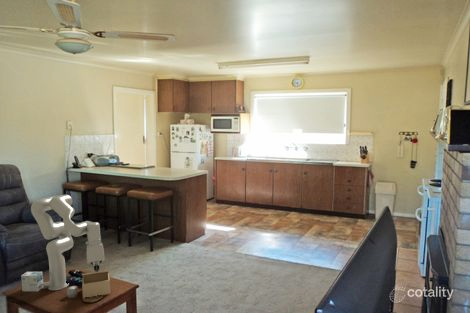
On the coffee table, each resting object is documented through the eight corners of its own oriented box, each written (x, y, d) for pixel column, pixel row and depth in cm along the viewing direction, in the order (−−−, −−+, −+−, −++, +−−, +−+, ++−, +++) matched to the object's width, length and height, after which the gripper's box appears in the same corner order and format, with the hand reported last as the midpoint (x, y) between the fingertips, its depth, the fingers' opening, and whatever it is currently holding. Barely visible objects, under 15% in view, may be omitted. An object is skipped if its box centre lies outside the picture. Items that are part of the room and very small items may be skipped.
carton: (82, 298, 222) (82, 284, 221) (83, 289, 235) (82, 275, 234) (110, 293, 228) (109, 280, 227) (109, 284, 241) (108, 271, 240)
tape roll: (67, 298, 222) (66, 290, 222) (67, 294, 228) (67, 286, 228) (77, 296, 225) (77, 289, 224) (78, 292, 230) (77, 285, 230)
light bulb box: (43, 287, 239) (42, 271, 238) (37, 291, 232) (36, 275, 231) (28, 286, 240) (27, 271, 239) (21, 291, 233) (20, 275, 232)
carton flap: (81, 275, 222) (81, 274, 222) (82, 275, 234) (82, 274, 234) (109, 271, 228) (109, 269, 228) (108, 271, 240) (108, 270, 240)
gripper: (81, 246, 219) (83, 275, 220) (107, 242, 224) (109, 270, 225) (81, 242, 226) (84, 271, 227) (107, 239, 231) (109, 266, 232)
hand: (96, 271), depth 226 cm, fingers closed
